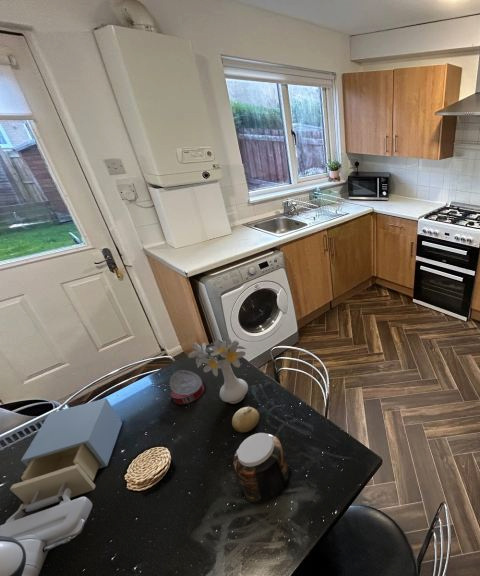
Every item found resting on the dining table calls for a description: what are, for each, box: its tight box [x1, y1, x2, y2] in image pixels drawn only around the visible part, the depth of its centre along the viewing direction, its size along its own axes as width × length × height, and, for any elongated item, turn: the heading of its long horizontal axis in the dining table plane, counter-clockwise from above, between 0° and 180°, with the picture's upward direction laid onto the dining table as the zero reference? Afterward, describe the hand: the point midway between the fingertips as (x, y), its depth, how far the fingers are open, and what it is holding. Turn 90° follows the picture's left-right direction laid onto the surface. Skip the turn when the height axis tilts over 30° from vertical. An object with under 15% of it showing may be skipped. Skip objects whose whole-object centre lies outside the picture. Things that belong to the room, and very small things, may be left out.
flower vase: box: [187, 335, 249, 405], centre depth 105 cm, size 13×18×25 cm
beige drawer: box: [9, 444, 100, 513], centre depth 82 cm, size 19×13×10 cm, turn 24°
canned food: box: [168, 369, 205, 405], centre depth 112 cm, size 11×10×10 cm
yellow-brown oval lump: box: [231, 404, 260, 433], centre depth 99 cm, size 8×8×7 cm
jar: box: [232, 432, 290, 504], centre depth 82 cm, size 12×12×15 cm
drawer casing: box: [20, 397, 123, 470], centre depth 91 cm, size 16×14×12 cm
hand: (47, 497), depth 76 cm, fingers closed on beige drawer, 6 cm apart
